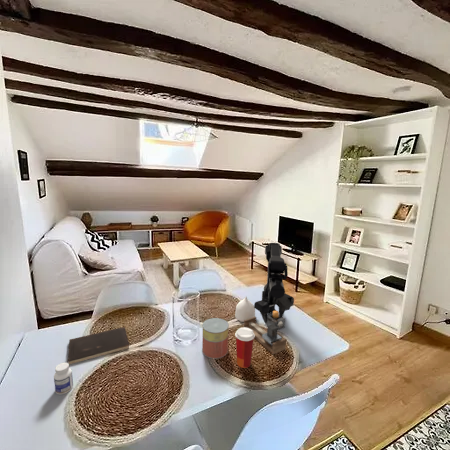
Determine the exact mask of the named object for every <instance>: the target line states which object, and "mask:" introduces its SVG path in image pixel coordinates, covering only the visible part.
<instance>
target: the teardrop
mask: <svg viewBox="0 0 450 450" xmlns="http://www.w3.org/2000/svg"><path fill="white" fill-rule="evenodd" d="M234 317H235V319H236V320H237V321H239V322H241V323H242V322H243V323H244V320H246V319H249V318H252V317H256V309H255V308H254V304H253V303H252V302H251V300H249V299H248V297H247V296H245V297H244V299H242V300H240V301H239V302H238V303H237V304H236V306H235V315H234Z"/></svg>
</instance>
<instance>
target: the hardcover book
mask: <svg viewBox="0 0 450 450" xmlns="http://www.w3.org/2000/svg"><path fill="white" fill-rule="evenodd" d="M127 334H128V333H127V330H126V327H125V326H123V327H118V328H114V329H110V330H105V331H100V332H97V333H91V334H88V335H83V336H80V337H75V338H71V339H70V338H69V342H68V351H67V352H68V354H67V362H66V363H68V364H69V365H71V364H75V363H80V362H83V361H86V360H90V359H94V358H98V357H101V356H105V355H109V354H112V353H116V352H120V351H123V350H128V349H130V342H129V338H128V335H127Z"/></svg>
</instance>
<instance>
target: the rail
mask: <svg viewBox="0 0 450 450" xmlns="http://www.w3.org/2000/svg"><path fill="white" fill-rule="evenodd" d="M243 327H245V328H249V329H251V330H252V331H253V333H254V335H255V337H254V339H255V340H256V341H257V342H258V343H259V344H261V345H262V346H263V347H264V348H265V349H267V351H269V352H270V353H271V354H273V355H274V354H277V353H280V352H282V351H284V350H286V347H287V345H286V344H287V339H286V338H285V337H284V338H282V340H279V341H277V342H274V343H273V345H272V346H271V345H270V344H269V343H267V342H266V341H265V340H264V338H263V337H262V335H263V334H265V333H267V329H266V330H265V328H263V327H262V326H260V325H259V324H258V323H257V317H256V316H255V317H252V318H249V319H246V320H244V322H243Z"/></svg>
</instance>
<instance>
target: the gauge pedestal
mask: <svg viewBox="0 0 450 450" xmlns="http://www.w3.org/2000/svg"><path fill="white" fill-rule="evenodd" d="M264 324H265V325H264V326H266V325H267V326H266V327H268V326H269V325H272V324H273V325H275V326H276V327H277V328H278V331H279V330H282V329H284V328H286V327H285V326H286V318H285V317H284V316H282V318H280V316H279V317H278V318H277V320H275V319H274V317H273V312H272V313H269V314H268V316H267V323H265V322H264Z"/></svg>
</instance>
